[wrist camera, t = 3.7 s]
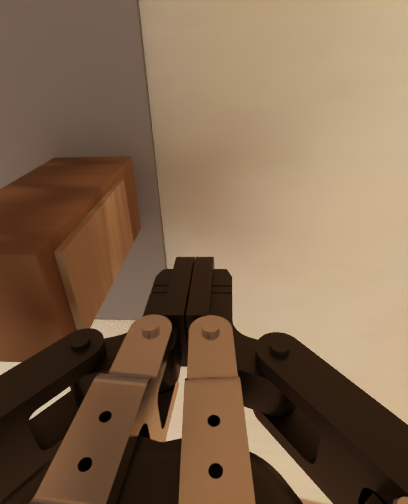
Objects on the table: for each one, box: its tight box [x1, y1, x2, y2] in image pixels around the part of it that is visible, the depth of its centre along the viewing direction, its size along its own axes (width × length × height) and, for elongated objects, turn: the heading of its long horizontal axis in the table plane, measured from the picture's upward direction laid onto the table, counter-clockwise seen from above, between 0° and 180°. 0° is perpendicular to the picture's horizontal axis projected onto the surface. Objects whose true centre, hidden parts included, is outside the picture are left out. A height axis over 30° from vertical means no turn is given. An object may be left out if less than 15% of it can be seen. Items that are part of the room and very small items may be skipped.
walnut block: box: [0, 156, 141, 362], centre depth 17 cm, size 5×5×12 cm
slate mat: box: [0, 0, 167, 320], centre depth 23 cm, size 22×22×1 cm
